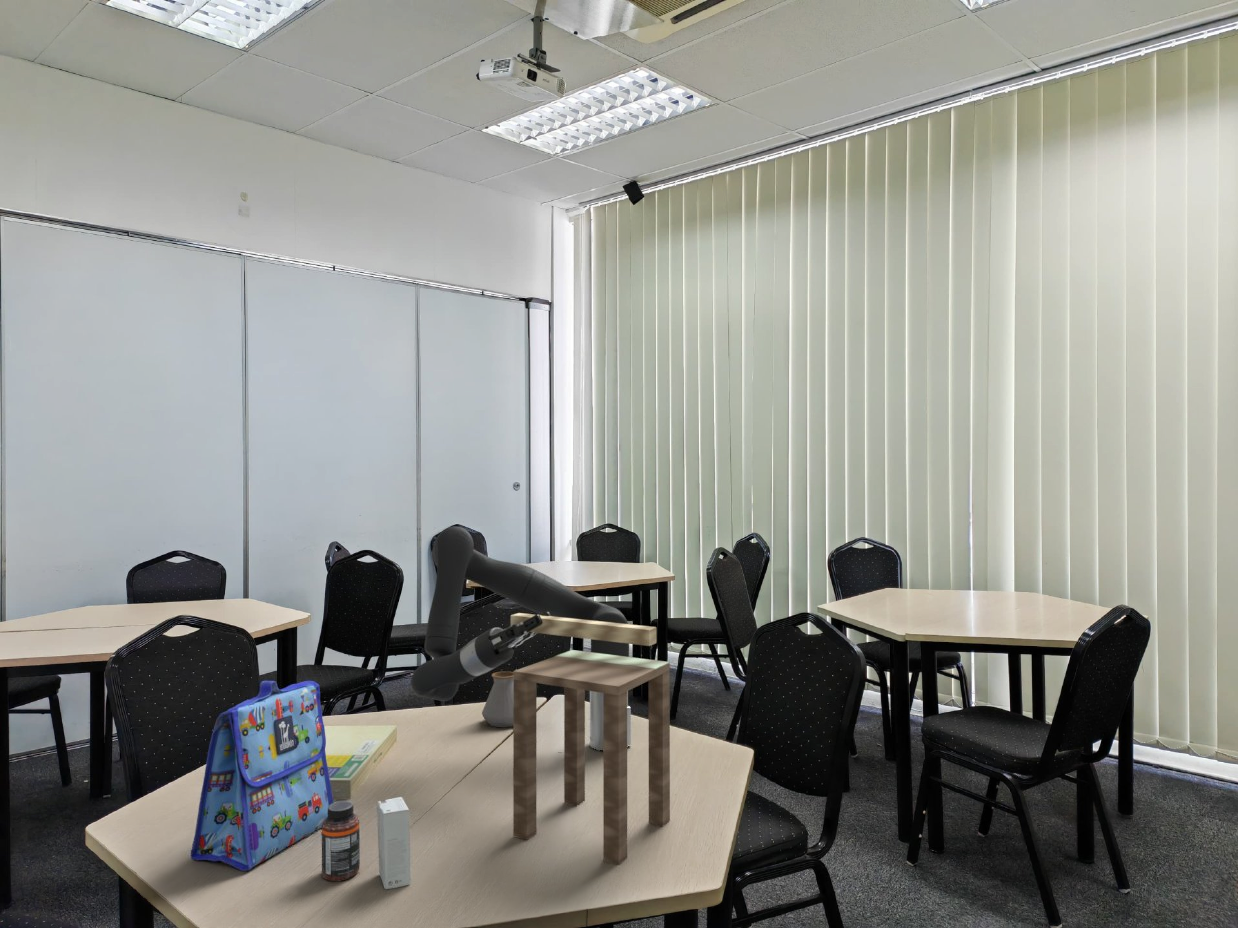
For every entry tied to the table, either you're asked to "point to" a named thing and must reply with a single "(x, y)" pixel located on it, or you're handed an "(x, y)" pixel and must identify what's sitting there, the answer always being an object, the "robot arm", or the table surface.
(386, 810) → the skincare box
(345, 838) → the supplement bottle
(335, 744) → the puzzle box
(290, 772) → the lunch bag
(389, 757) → the table surface
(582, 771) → the walnut stand
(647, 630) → the maple rod
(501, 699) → the coffee pot
